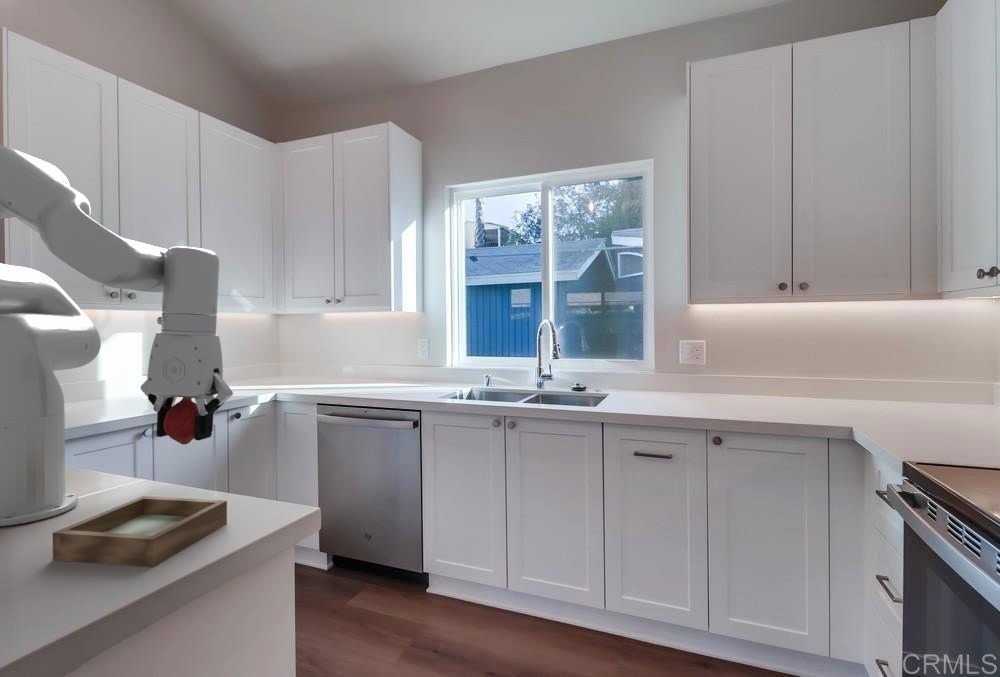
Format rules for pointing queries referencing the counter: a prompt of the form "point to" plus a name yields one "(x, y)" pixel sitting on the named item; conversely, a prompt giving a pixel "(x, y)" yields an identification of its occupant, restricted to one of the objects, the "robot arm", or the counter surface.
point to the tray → (140, 531)
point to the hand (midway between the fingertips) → (184, 435)
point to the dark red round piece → (181, 421)
